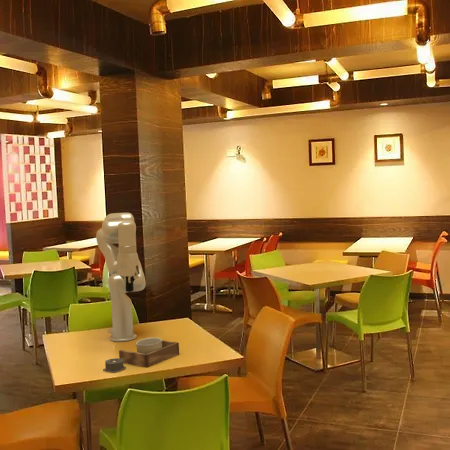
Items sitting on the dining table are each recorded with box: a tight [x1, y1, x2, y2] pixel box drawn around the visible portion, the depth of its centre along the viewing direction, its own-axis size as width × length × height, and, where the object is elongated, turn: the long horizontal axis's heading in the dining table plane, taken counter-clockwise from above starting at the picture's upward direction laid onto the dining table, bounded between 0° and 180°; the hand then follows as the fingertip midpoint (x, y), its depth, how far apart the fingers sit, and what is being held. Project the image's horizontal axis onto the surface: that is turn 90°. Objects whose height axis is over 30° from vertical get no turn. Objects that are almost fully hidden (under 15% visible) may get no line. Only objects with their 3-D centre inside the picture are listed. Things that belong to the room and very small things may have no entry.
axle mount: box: [102, 361, 127, 374], centre depth 234 cm, size 6×6×3 cm
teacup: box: [135, 336, 163, 354], centre depth 247 cm, size 14×11×8 cm
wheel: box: [104, 357, 125, 371], centre depth 234 cm, size 7×7×3 cm
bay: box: [118, 339, 180, 368], centre depth 247 cm, size 15×20×5 cm
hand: (129, 291), depth 259 cm, fingers closed
